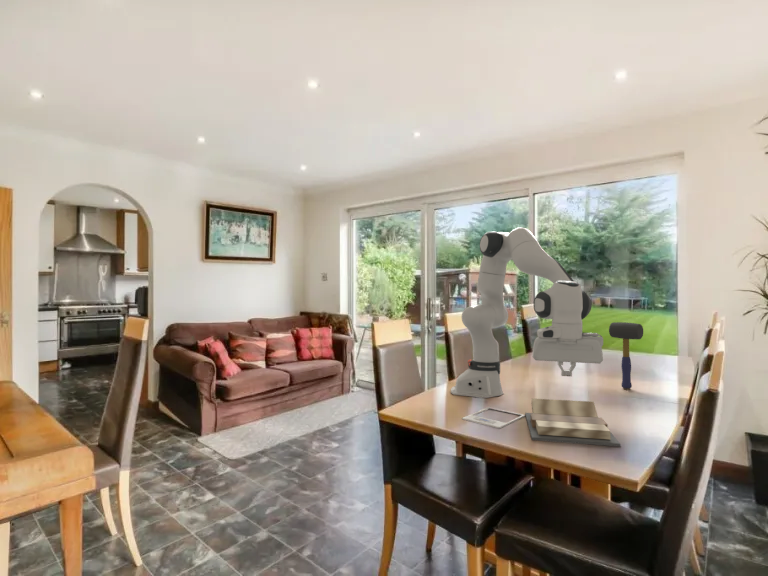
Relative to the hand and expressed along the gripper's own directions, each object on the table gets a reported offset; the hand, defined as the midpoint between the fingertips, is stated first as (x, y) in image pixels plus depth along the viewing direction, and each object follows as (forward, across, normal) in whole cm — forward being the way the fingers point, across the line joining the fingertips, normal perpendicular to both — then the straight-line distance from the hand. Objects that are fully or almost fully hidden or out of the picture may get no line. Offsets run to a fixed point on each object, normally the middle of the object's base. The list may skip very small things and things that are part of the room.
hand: (566, 375), depth 132 cm
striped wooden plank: (+18, -1, -4) cm, 19 cm away
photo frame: (+19, +22, -11) cm, 31 cm away
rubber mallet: (+18, -35, -68) cm, 79 cm away
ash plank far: (+15, -1, -12) cm, 20 cm away
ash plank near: (+17, -1, +3) cm, 17 cm away
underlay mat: (+18, -1, -4) cm, 19 cm away
